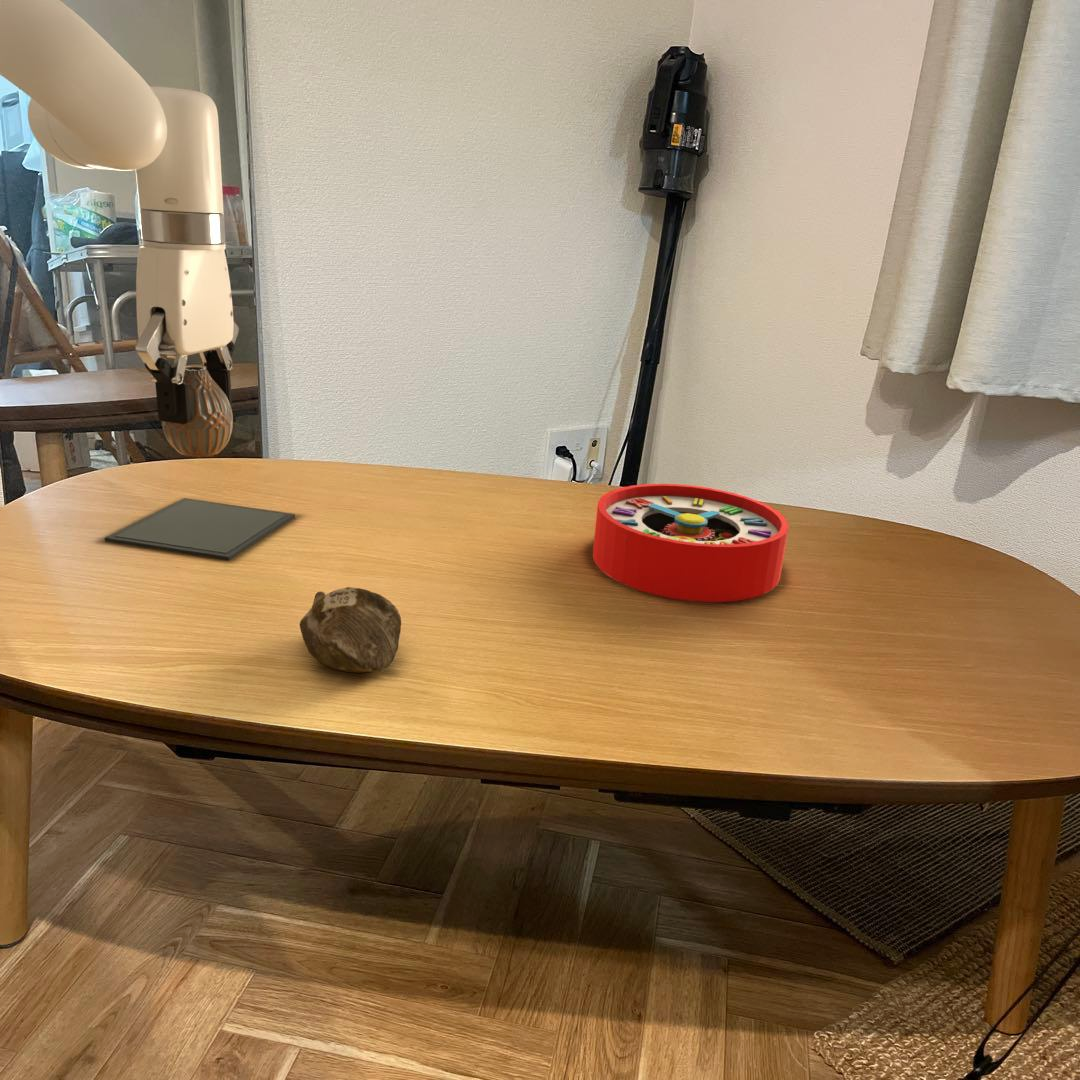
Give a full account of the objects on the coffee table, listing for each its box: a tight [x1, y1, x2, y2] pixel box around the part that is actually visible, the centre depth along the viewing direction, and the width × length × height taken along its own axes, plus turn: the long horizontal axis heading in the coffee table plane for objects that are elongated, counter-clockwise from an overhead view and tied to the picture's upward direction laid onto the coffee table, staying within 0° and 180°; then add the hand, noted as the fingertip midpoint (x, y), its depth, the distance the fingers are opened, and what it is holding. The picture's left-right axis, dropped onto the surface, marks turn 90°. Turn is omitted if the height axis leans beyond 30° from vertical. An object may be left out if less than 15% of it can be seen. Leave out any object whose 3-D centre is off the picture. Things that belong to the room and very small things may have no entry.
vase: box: [161, 365, 234, 458], centre depth 92 cm, size 7×7×9 cm
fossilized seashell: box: [299, 586, 402, 674], centre depth 72 cm, size 8×7×10 cm
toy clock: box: [592, 483, 790, 603], centre depth 96 cm, size 20×6×20 cm
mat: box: [104, 497, 296, 561], centre depth 97 cm, size 14×14×1 cm
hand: (196, 412), depth 92 cm, fingers closed on vase, 6 cm apart
